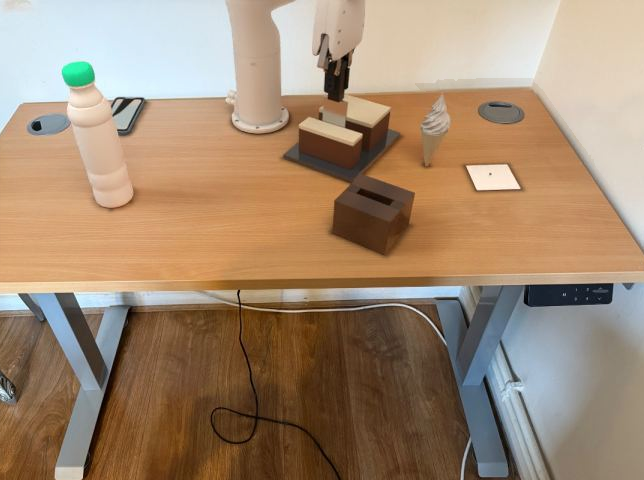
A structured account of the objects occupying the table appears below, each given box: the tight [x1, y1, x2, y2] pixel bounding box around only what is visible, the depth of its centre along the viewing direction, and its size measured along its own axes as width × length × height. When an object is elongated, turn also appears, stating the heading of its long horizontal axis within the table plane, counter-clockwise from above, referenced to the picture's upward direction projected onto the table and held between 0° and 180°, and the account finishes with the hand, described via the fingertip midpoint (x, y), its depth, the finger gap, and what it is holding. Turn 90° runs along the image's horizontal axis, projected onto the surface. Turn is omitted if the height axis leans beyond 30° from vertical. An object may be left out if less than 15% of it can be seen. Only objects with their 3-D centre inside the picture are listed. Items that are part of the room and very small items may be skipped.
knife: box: [322, 59, 348, 128], centre depth 100 cm, size 5×2×16 cm, turn 55°
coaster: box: [465, 164, 521, 191], centre depth 100 cm, size 8×8×1 cm
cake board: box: [283, 128, 401, 184], centre depth 109 cm, size 16×20×1 cm
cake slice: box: [298, 116, 363, 170], centre depth 103 cm, size 12×4×6 cm, turn 55°
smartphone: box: [110, 96, 146, 136], centre depth 120 cm, size 7×1×15 cm
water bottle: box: [61, 60, 134, 209], centre depth 91 cm, size 7×7×25 cm
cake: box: [318, 93, 392, 152], centre depth 109 cm, size 12×8×6 cm, turn 55°
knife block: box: [331, 173, 416, 256], centre depth 89 cm, size 10×9×7 cm
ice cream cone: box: [419, 92, 451, 167], centre depth 99 cm, size 5×5×15 cm
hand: (335, 89), depth 98 cm, fingers closed on knife, 2 cm apart
